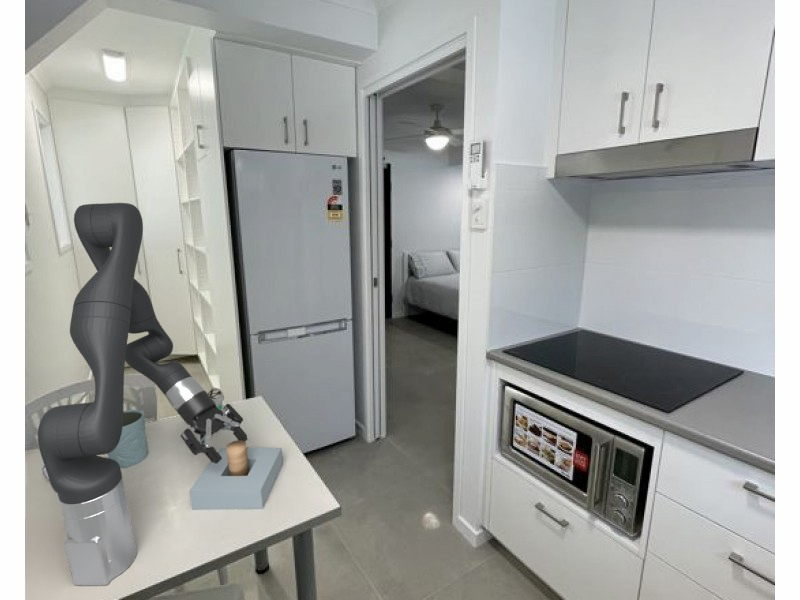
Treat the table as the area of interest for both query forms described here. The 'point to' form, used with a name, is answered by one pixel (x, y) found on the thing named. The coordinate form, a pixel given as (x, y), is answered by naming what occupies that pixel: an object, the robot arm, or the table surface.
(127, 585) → the table surface
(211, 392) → the food container
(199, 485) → the socket block
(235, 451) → the peg
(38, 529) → the table surface
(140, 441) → the teal plant pot
